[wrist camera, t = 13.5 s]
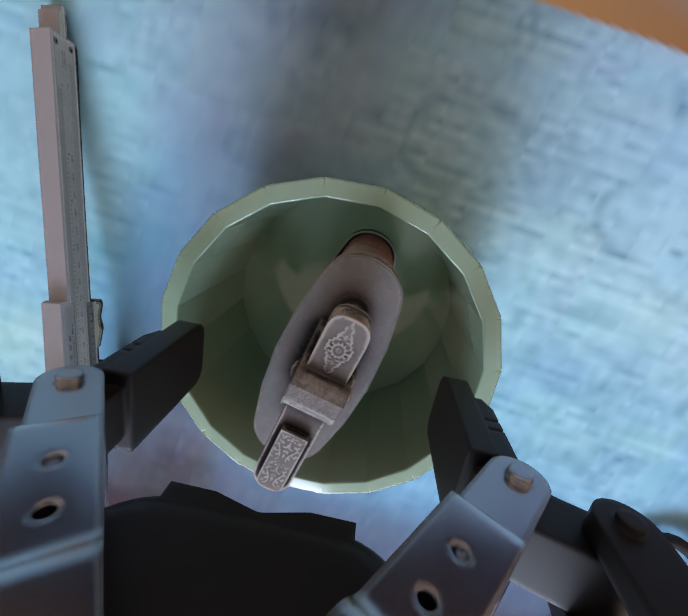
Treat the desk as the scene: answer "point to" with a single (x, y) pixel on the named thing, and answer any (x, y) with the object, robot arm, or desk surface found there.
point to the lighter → (327, 356)
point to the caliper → (63, 197)
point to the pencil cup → (287, 293)
